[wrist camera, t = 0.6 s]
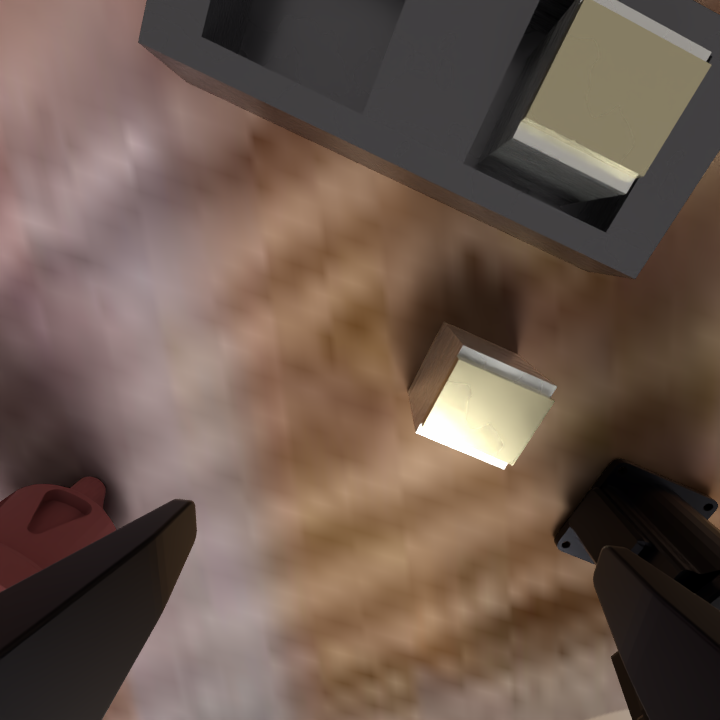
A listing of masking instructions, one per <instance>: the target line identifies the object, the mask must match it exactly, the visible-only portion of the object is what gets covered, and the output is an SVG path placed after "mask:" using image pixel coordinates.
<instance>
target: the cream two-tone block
mask: <svg viewBox="0 0 720 720" xmlns="http://www.w3.org/2000/svg"><path fill="white" fill-rule="evenodd" d="M556 388H557V386H556V385H555V384H553V383H552V382H551V381H550V380H549V379H547V378H546V377H545V376H544V375H542V374H541V373H540V372H539V371H538V370H536V369H535V368H534V367H533V366H532V365H530V364H529V363H528V362H527V361H525V360H524V359H523V358H522V357H521V356H519V355H518V354H516V353H514V352H512V351H510V350H507V349H505V348H503V347H501V346H498V345H496V344H494V343H492V342H489V341H487V340H485V339H483V338H480V337H478V336H476V335H474V334H471V333H469V332H467V331H465V330H462V329H460V328H458V327H456V326H453V325H451V324H449V323H447V322H443V324H442V326H441V328H440V330H439V332H438V334H437V336H436V337H435V339H434V341H433V343H432V345H431V347H430V349H429V351H428V353H427V355H426V357H425V359H424V361H423V363H422V365H421V367H420V369H419V371H418V373H417V374H416V376H415V378H414V380H413V382H412V384H411V386H410V388H409V390H408V396H409V401H410V406H411V411H412V416H413V421H414V426H415V431H416V433H418V434H420V435H422V436H425V437H427V438H430V439H432V440H434V441H437V442H439V443H442V444H444V445H446V446H449V447H451V448H454V449H456V450H459V451H461V452H463V453H466V454H468V455H471V456H473V457H475V458H478V459H480V460H483V461H485V462H488V463H490V464H492V465H495V466H497V467H500V468H502V469H504V468H505V467H506V465H507V464H511V465H513V464H514V463H515V461H516V460H517V458H518V457H519V455H520V454H521V452H522V451H523V449H524V448H525V446H526V445H527V443H528V441H529V440H530V438H531V437H532V435H533V434H534V432H535V431H536V429H537V428H538V426H539V425H540V423H541V422H542V420H543V418H544V417H545V415H546V414H547V412H548V411H549V409H550V408H551V406H552V405H553V403H554V402H555V401H554V400H553V399H552V398H551V395H552V394H553V392H554V391H555V389H556Z"/></svg>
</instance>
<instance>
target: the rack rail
mask: <svg viewBox="0 0 720 720" xmlns="http://www.w3.org/2000/svg"><path fill="white" fill-rule="evenodd" d="M617 1H619V2H621V3H623V4H624V5H626V6H628V7H630V8H632V9H634V10H635V11H637V12H639V13H641V14H643V15H645V16H646V17H648V18H650V19H652V20H654V21H656V22H658V23H659V24H661V25H663V26H665V27H667V28H669V29H670V30H672V31H674V32H676V33H678V34H680V35H681V36H683V37H685V38H687V39H689V40H691V41H692V42H694V43H696V44H698V45H700V46H702V47H703V48H705V49H707V50H709V51H711V52H712V53H711V54H710V56H709V57H708V59H707V61H706V62H708V63H709V64H711V67H710V68H709V70H708V72H707V73H706V75H705V77H704V78H703V80H702V82H701V83H700V85H699V87H698V88H697V90H696V91H695V93H694V95H693V96H692V98H691V100H690V101H689V103H688V105H687V106H686V108H685V110H684V111H683V113H682V114H681V116H680V118H679V119H678V121H677V123H676V124H675V126H674V128H673V129H672V131H671V132H670V134H669V136H668V137H667V139H666V141H665V142H664V144H663V146H662V147H661V149H660V151H659V152H658V154H657V155H656V157H655V159H654V160H653V162H652V164H651V165H650V167H649V169H648V170H647V172H646V174H645V175H644V177H640V178H635V180H634V182H633V183H632V185H631V187H630V188H629V190H628V192H627V193H626V194H623V195H617V196H612V197H606V198H600V199H595V200H589V201H583V202H578V203H572V204H567V205H560V204H558V203H556V202H554V201H552V200H549V199H547V198H545V197H543V196H541V195H539V194H537V193H535V192H533V191H531V190H529V189H527V188H525V187H523V186H521V185H519V184H517V183H515V182H512V181H510V180H508V179H506V178H504V177H502V176H500V175H498V174H496V173H494V172H492V171H490V170H488V169H486V168H484V167H482V166H480V165H477V163H478V161H479V159H480V157H481V155H482V153H483V151H484V148H485V146H486V144H487V142H488V140H489V138H490V136H491V134H492V132H493V130H494V127H495V125H496V123H497V121H498V119H499V117H500V115H501V113H502V111H503V109H504V107H505V104H506V102H507V100H508V98H509V96H510V94H511V92H512V90H513V88H514V86H515V84H516V81H517V79H518V77H519V75H520V73H521V71H522V69H523V67H524V65H525V63H526V60H527V58H528V57H529V56H530V54H531V53H532V52H533V51H534V50H535V48H536V47H537V46H538V45H539V44H540V42H541V41H542V40H543V39H544V38H545V36H546V35H547V34H548V33H549V32H550V30H551V29H552V28H553V27H554V26H555V24H556V23H557V22H558V21H559V20H560V18H561V17H562V16H563V15H564V14H565V12H566V11H567V10H568V9H569V8H570V6H571V5H572V4H573V3H574V2H575V0H147V2H146V7H145V12H144V16H143V21H142V26H141V31H140V36H139V41H138V42H139V43H140V44H141V45H142V46H143V47H145V48H146V49H147V50H148V51H149V52H151V53H152V54H153V55H154V56H156V57H157V58H158V59H159V60H160V61H162V62H163V63H164V64H165V65H167V66H168V67H169V68H170V69H171V70H173V71H174V72H175V73H176V74H178V75H179V76H180V77H181V78H182V79H184V80H185V81H186V82H188V83H190V84H192V85H194V86H196V87H198V88H201V89H203V90H205V91H207V92H209V93H211V94H213V95H215V96H217V97H220V98H222V99H224V100H226V101H228V102H230V103H232V104H234V105H237V106H239V107H241V108H243V109H245V110H247V111H249V112H251V113H253V114H256V115H258V116H260V117H262V118H264V119H266V120H268V121H270V122H272V123H275V124H277V125H279V126H281V127H283V128H285V129H287V130H289V131H292V132H294V133H296V134H298V135H300V136H302V137H304V138H306V139H308V140H311V141H313V142H315V143H317V144H319V145H321V146H323V147H325V148H327V149H330V150H332V151H334V152H336V153H338V154H340V155H342V156H344V157H347V158H349V159H351V160H353V161H355V162H357V163H359V164H361V165H363V166H366V167H368V168H370V169H372V170H374V171H376V172H378V173H380V174H382V175H385V176H387V177H389V178H391V179H393V180H395V181H397V182H399V183H402V184H404V185H406V186H408V187H410V188H412V189H414V190H416V191H418V192H421V193H423V194H425V195H427V196H429V197H431V198H433V199H435V200H437V201H440V202H442V203H444V204H446V205H448V206H450V207H452V208H454V209H457V210H459V211H461V212H463V213H465V214H467V215H469V216H471V217H473V218H476V219H478V220H480V221H482V222H484V223H486V224H488V225H490V226H492V227H495V228H497V229H499V230H501V231H503V232H505V233H507V234H509V235H512V236H514V237H516V238H518V239H520V240H522V241H524V242H526V243H528V244H531V245H533V246H535V247H537V248H539V249H541V250H543V251H545V252H547V253H550V254H552V255H554V256H556V257H558V258H560V259H562V260H564V261H567V262H569V263H571V264H573V265H575V266H577V267H579V268H581V269H583V270H586V271H588V272H594V273H600V274H606V275H613V276H619V277H625V278H631V279H636V277H637V276H638V274H639V273H640V271H641V270H642V268H643V266H644V265H645V263H646V262H647V260H648V259H649V257H650V256H651V254H652V253H653V251H654V250H655V248H656V247H657V245H658V244H659V242H660V240H661V239H662V237H663V236H664V234H665V233H666V231H667V230H668V228H669V227H670V225H671V224H672V222H673V221H674V219H675V218H676V216H677V214H678V213H679V211H680V210H681V208H682V207H683V205H684V204H685V202H686V201H687V199H688V198H689V196H690V195H691V193H692V192H693V190H694V188H695V187H696V185H697V184H698V182H699V181H700V179H701V178H702V176H703V175H704V173H705V172H706V170H707V169H708V167H709V166H710V164H711V162H712V161H713V159H714V158H715V156H716V155H717V153H718V152H719V150H720V15H719V14H717V13H715V12H713V11H711V10H710V9H708V8H706V7H704V6H702V5H701V4H699V3H697V2H695V1H693V0H617Z"/></svg>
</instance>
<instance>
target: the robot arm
mask: <svg viewBox="0 0 720 720" xmlns="http://www.w3.org/2000/svg"><path fill="white" fill-rule="evenodd" d="M620 467H623V468H622V469H621V470H618V469H619V468H620ZM704 505H705V506H704ZM717 508H718V504H717V502H716V501H715V500H713V499H712V498H711V497H709V496H708V495H706V494H703V493H701V492H699V491H696V490H694V489H692V488H689V487H687V486H685V485H682V484H680V483H678V482H675V481H673V480H671V479H668V478H666V477H664V476H661V475H659V474H657V473H654V472H652V471H650V470H647V469H645V468H643V467H640V466H638V465H636V464H633V463H631V462H629V461H626V460H624V459H616V460H613V461H612V462H611V463H610V464H609V466H608V467H607V468H606V470H605V471H604V472H603V474H602V475H601V476H600V478H599V479H598V480H597V482H596V483H595V484H594V486H593V487H592V488H591V490H590V491H589V493H588V494H587V495H586V497H585V498H584V499H583V501H582V502H581V503H580V505H579V506H578V507H577V509H576V510H575V511H574V513H573V514H572V515H571V517H570V518H569V519H568V521H567V522H566V523H565V525H564V526H563V527H562V529H561V530H560V531H559V533H558V534H557V535H556V537H555V539H554V542H555V544H556V545H557V547H558V549H559V550H561V551H563V552H565V553H568V554H570V555H573V556H575V557H578V558H580V559H583V560H585V561H588V562H590V563H593V564H595V565H596V568H595V572H594V576H593V582H594V587H595V590H596V593H597V595H598V598H599V601H600V603H601V606H602V609H603V611H604V614H605V617H606V619H607V622H608V625H609V627H610V630H611V633H612V635H613V638H614V641H615V643H616V646H617V649H618V651H617V652H616V653H615V654H614V655H612V656H611V659H612V662H613V665H614V668H615V671H616V673H617V676H618V679H619V682H620V685H621V688H622V691H623V694H624V697H625V700H626V703H627V706H628V709H629V711H630V714H631V717H632V720H720V530H719V529H718V528H716V527H715V526H714V525H713V524H712V523H711V522H709V521H708V519H709V518H710V517H711V515H712V514H713V513H714V512H715V511H716V510H717ZM196 533H197V527H196V511H195V504H194V502H193V501H191V500H183V499H174V500H172V501H170V502H168V503H166V504H164V505H163V506H161V507H159V508H157V509H155V510H153V511H151V512H149V513H148V514H146V515H144V516H142V517H140V518H138V519H136V520H134V521H133V522H131V523H129V524H127V525H125V526H123V527H121V528H119V529H118V530H116V531H114V532H112V533H110V534H108V535H106V536H104V537H103V538H101V539H99V540H97V541H95V542H93V543H91V544H90V545H88V546H86V547H84V548H82V549H80V550H78V551H76V552H75V553H73V554H71V555H69V556H67V557H65V558H63V559H61V560H60V561H58V562H56V563H54V564H52V565H50V566H48V567H46V568H45V569H43V570H41V571H39V572H37V573H35V574H33V575H31V576H30V577H28V578H26V579H24V580H22V581H20V582H18V583H16V584H14V585H13V586H11V587H9V588H7V589H5V590H3V591H1V592H0V720H102V719H103V717H104V715H105V713H106V712H107V710H108V708H109V706H110V704H111V703H112V701H113V699H114V697H115V696H116V694H117V692H118V690H119V689H120V687H121V685H122V683H123V682H124V680H125V678H126V676H127V674H128V673H129V671H130V669H131V667H132V666H133V664H134V662H135V660H136V659H137V657H138V655H139V653H140V652H141V650H142V648H143V646H144V644H145V643H146V641H147V639H148V637H149V636H150V634H151V632H152V630H153V629H154V627H155V625H156V623H157V621H158V620H159V618H160V616H161V614H162V612H163V610H164V608H165V606H166V604H167V602H168V600H169V598H170V595H171V593H172V591H173V589H174V586H175V584H176V582H177V580H178V577H179V575H180V573H181V571H182V568H183V566H184V564H185V562H186V560H187V557H188V555H189V553H190V551H191V548H192V546H193V544H194V541H195V538H196ZM565 541H566V542H565ZM563 542H565V543H563Z"/></svg>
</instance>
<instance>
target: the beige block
mask: <svg viewBox="0 0 720 720" xmlns="http://www.w3.org/2000/svg"><path fill="white" fill-rule="evenodd" d="M711 53H712V52H711V51H709V50H707V49H705V48H703V47H702V46H700V45H698V44H696V43H694V42H692V41H691V40H689V39H687V38H685V37H683V36H681V35H680V34H678V33H676V32H674V31H672V30H670V29H669V28H667V27H665V26H663V25H661V24H659V23H658V22H656V21H654V20H652V19H650V18H648V17H646V16H645V15H643V14H641V13H639V12H637V11H635V10H634V9H632V8H630V7H628V6H626V5H624V4H623V3H621V2H619V1H617V0H575V2H574V3H573V4H572V5H571V6H570V8H569V9H568V10H567V11H566V12H565V14H564V15H563V16H562V17H561V18H560V20H559V21H558V22H557V23H556V24H555V26H554V27H553V28H552V29H551V30H550V32H549V33H548V34H547V35H546V36H545V38H544V39H543V40H542V41H541V42H540V44H539V45H538V46H537V47H536V48H535V50H534V51H533V52H532V53H531V54H530V56H529V57H528V58H527V60H526V63H525V65H524V67H523V69H522V71H521V73H520V75H519V77H518V79H517V81H516V84H515V86H514V88H513V90H512V92H511V94H510V96H509V98H508V100H507V102H506V104H505V107H504V109H503V111H502V113H501V115H500V117H499V119H498V121H497V123H496V125H495V127H494V130H493V132H492V134H491V136H490V138H489V140H488V142H487V144H486V146H485V148H484V151H483V153H482V155H481V157H480V159H479V161H478V163H477V165H480V166H482V167H484V168H486V169H488V170H490V171H492V172H494V173H496V174H498V175H500V176H502V177H504V178H506V179H508V180H510V181H512V182H515V183H517V184H519V185H521V186H523V187H525V188H527V189H529V190H531V191H533V192H535V193H537V194H539V195H541V196H543V197H545V198H547V199H549V200H552V201H554V202H556V203H558V204H560V205H567V204H572V203H578V202H583V201H589V200H595V199H600V198H606V197H612V196H617V195H623V194H626V193H627V192H628V190H629V188H630V187H631V185H632V183H633V182H634V180H635V178H640V177H644V175H645V174H646V172H647V170H648V169H649V167H650V165H651V164H652V162H653V160H654V159H655V157H656V155H657V154H658V152H659V151H660V149H661V147H662V146H663V144H664V142H665V141H666V139H667V137H668V136H669V134H670V132H671V131H672V129H673V128H674V126H675V124H676V123H677V121H678V119H679V118H680V116H681V114H682V113H683V111H684V110H685V108H686V106H687V105H688V103H689V101H690V100H691V98H692V96H693V95H694V93H695V91H696V90H697V88H698V87H699V85H700V83H701V82H702V80H703V78H704V77H705V75H706V73H707V72H708V70H709V68H710V67H711V64H709V63H708V62H706V61H707V59H708V57H709V56H710V54H711Z"/></svg>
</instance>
